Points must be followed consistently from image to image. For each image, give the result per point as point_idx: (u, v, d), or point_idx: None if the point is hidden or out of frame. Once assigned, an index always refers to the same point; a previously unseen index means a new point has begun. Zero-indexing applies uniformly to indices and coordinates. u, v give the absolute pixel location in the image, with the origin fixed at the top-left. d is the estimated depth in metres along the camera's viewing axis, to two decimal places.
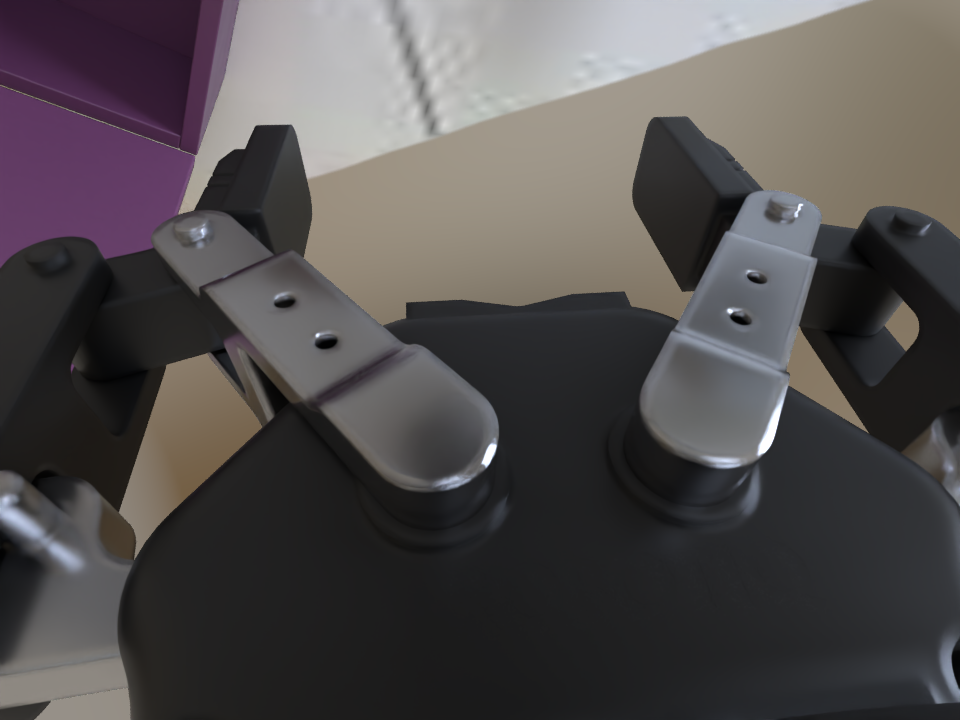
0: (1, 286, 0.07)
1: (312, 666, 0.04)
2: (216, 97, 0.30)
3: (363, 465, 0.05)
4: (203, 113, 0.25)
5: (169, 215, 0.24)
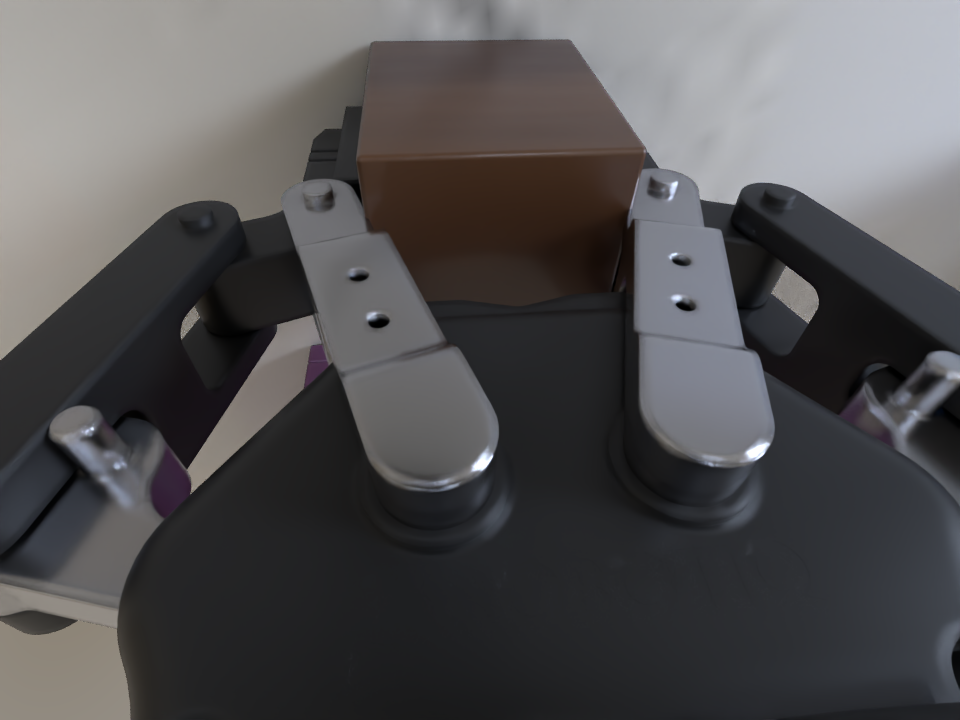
0: (152, 236, 0.08)
1: (312, 666, 0.04)
2: None
3: (361, 445, 0.05)
4: None
5: None
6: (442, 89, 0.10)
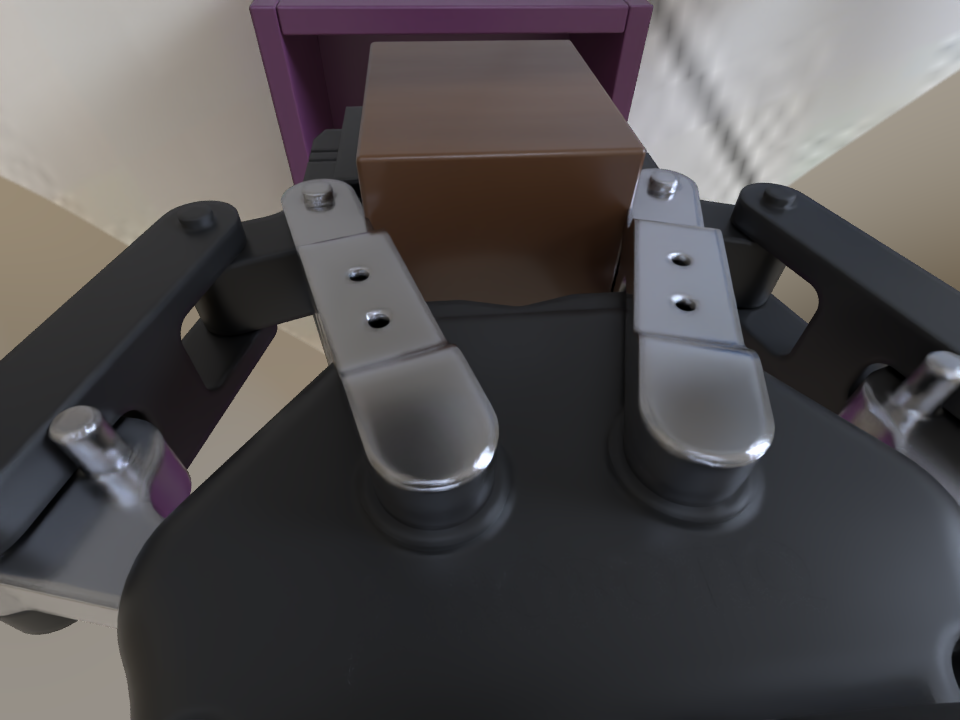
0: (153, 236, 0.08)
1: (312, 666, 0.04)
2: None
3: (361, 445, 0.05)
4: None
5: None
6: (442, 88, 0.10)
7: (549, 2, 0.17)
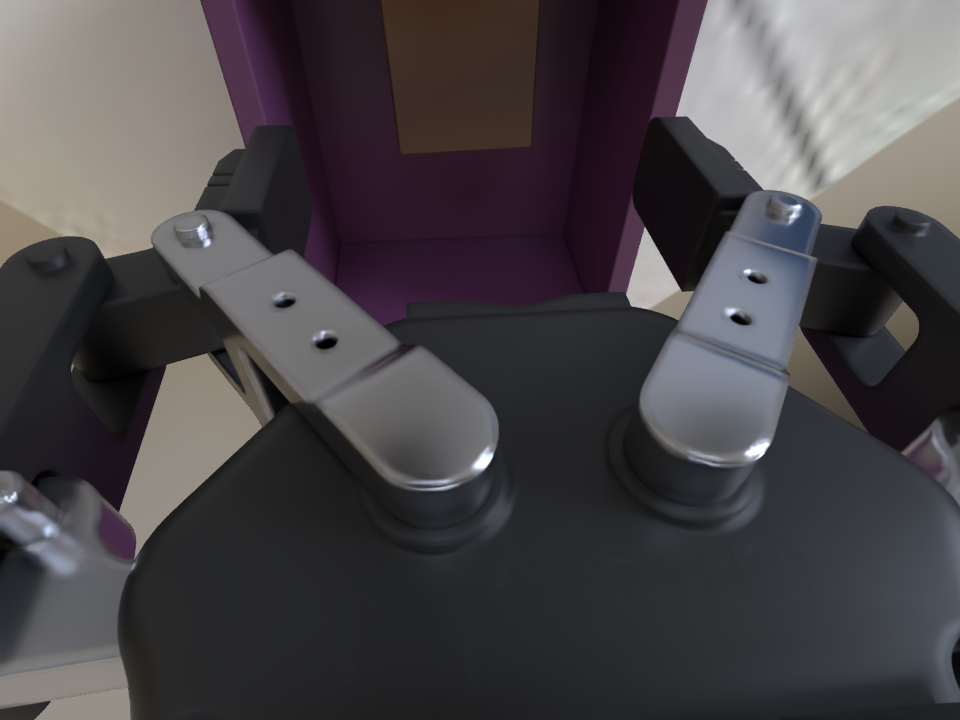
0: (1, 286, 0.07)
1: (312, 666, 0.04)
2: None
3: (363, 466, 0.05)
4: None
5: None
6: None
7: None
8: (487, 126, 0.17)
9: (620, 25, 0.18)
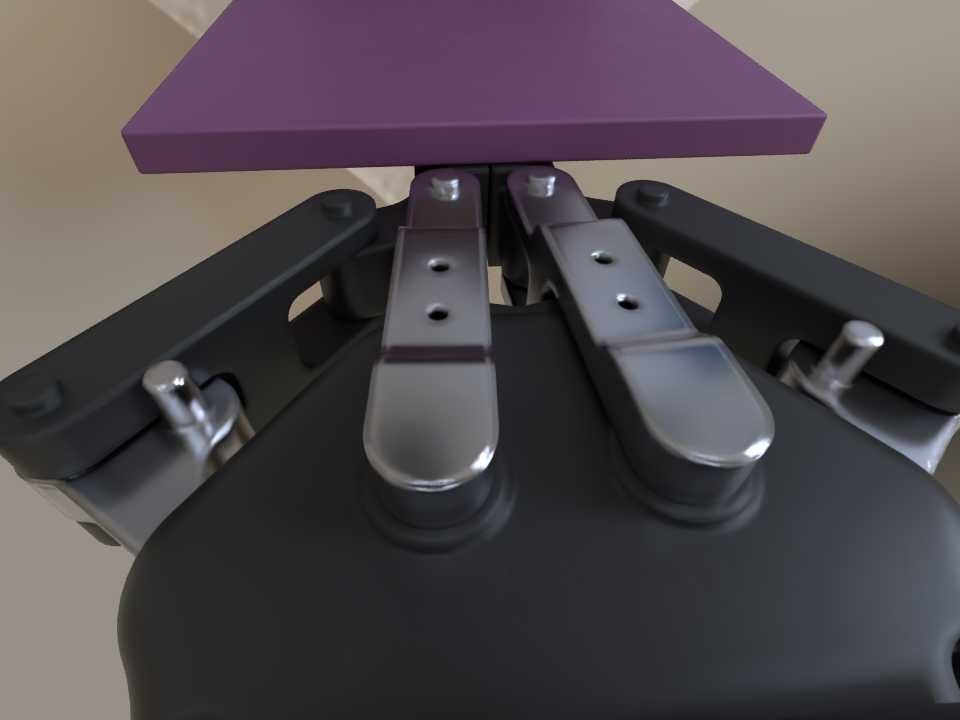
0: (296, 214, 0.08)
1: (312, 666, 0.04)
2: None
3: None
4: None
5: None
6: None
7: None
8: None
9: None
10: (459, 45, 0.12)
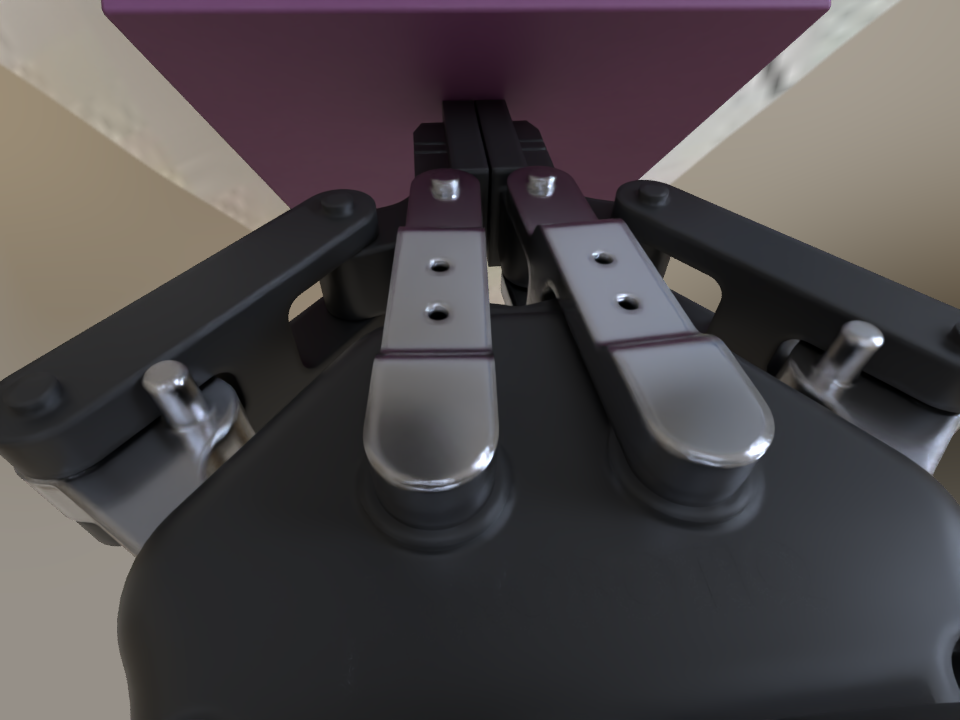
0: (296, 214, 0.08)
1: (312, 666, 0.04)
2: None
3: None
4: None
5: None
6: None
7: None
8: None
9: None
10: None
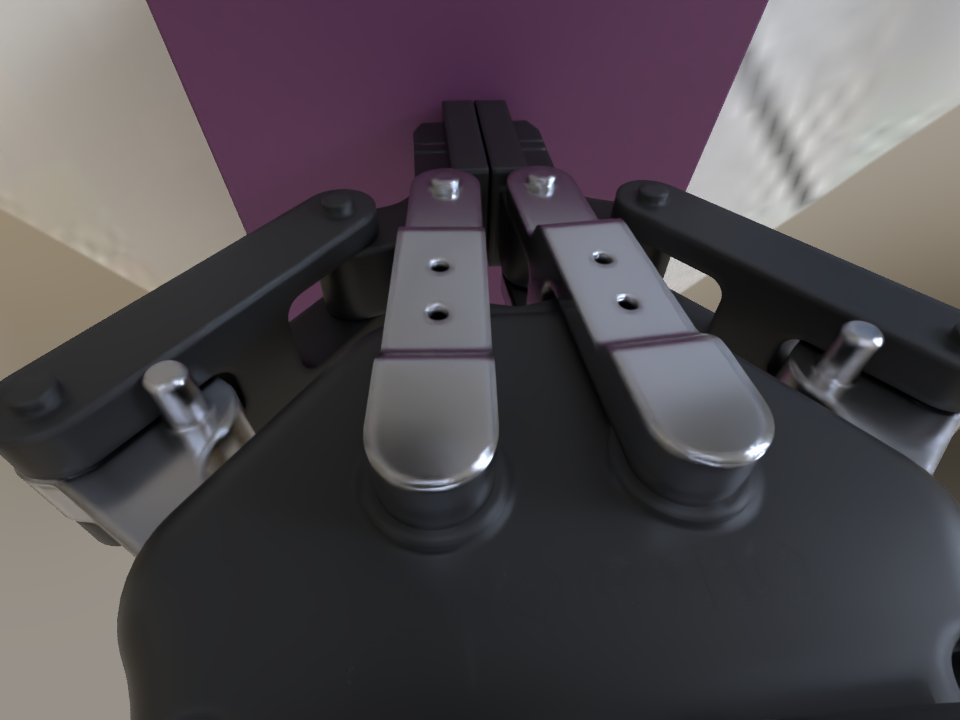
0: (296, 214, 0.08)
1: (312, 666, 0.04)
2: None
3: None
4: None
5: None
6: None
7: None
8: None
9: None
10: None
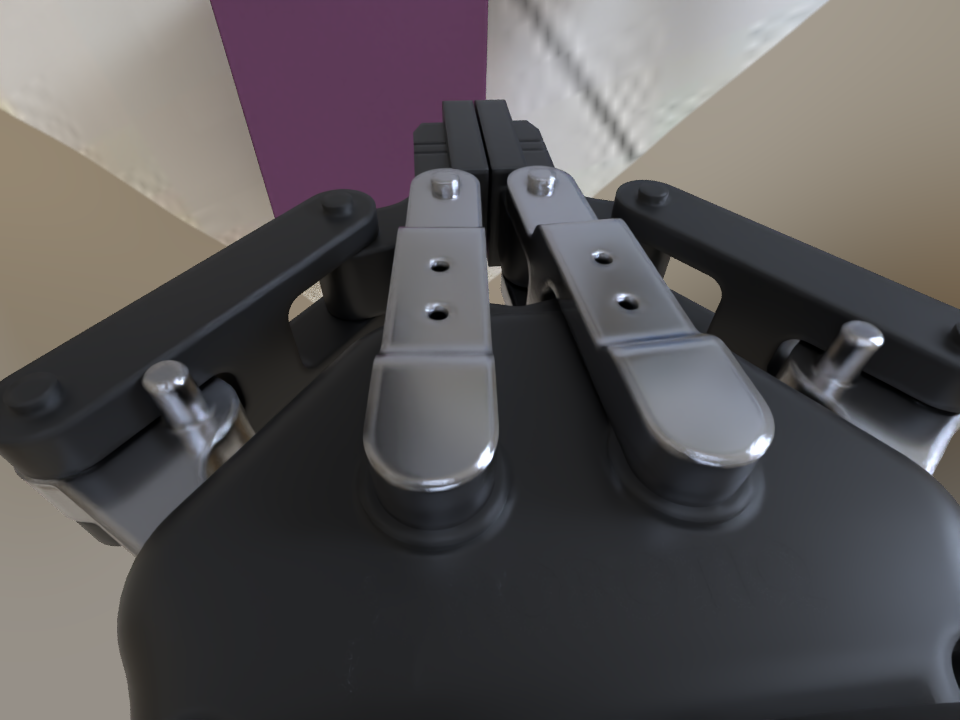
0: (295, 214, 0.08)
1: (312, 666, 0.04)
2: None
3: None
4: None
5: None
6: None
7: None
8: None
9: None
10: None
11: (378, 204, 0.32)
